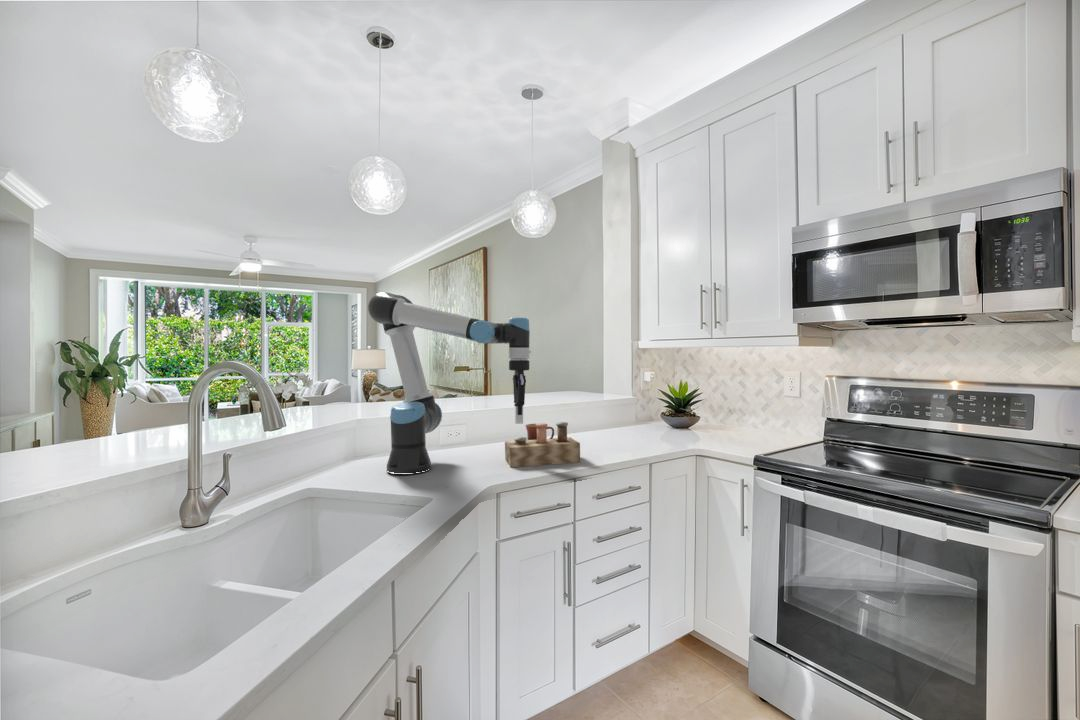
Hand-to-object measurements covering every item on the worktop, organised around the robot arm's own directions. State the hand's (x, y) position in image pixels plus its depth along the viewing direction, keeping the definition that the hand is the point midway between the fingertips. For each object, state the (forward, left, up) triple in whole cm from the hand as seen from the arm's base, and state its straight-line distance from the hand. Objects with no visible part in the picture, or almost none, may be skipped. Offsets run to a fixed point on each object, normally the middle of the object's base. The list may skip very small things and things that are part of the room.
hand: (519, 423), depth 173 cm
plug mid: (+8, 0, -10) cm, 13 cm away
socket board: (+8, 0, -15) cm, 17 cm away
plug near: (0, 0, -14) cm, 14 cm away
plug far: (+17, 0, -10) cm, 19 cm away
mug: (+12, +20, -15) cm, 28 cm away
